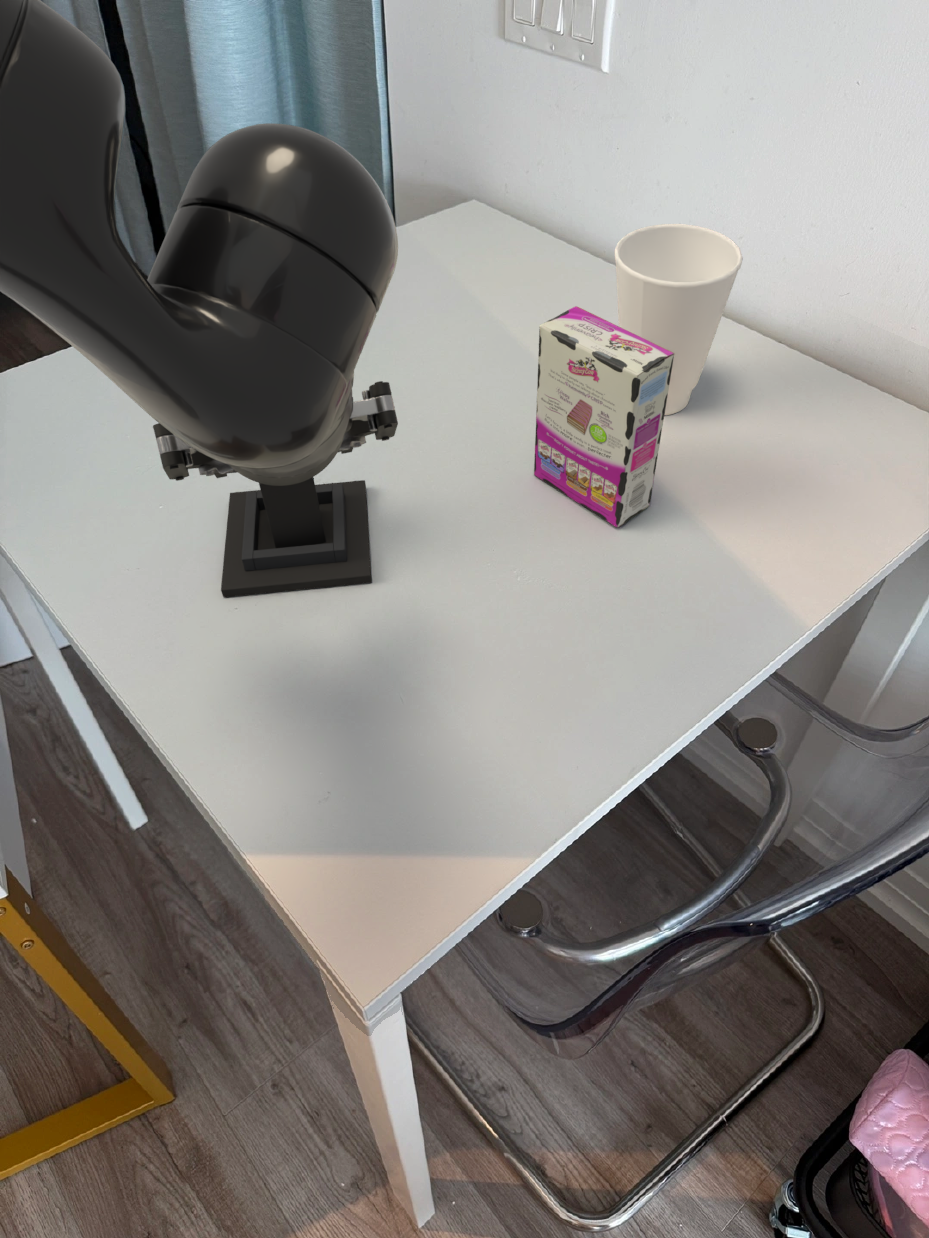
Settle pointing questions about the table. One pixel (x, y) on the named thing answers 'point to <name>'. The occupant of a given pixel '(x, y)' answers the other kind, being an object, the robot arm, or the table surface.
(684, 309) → the cup
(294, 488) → the black block
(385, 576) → the table surface
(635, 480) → the candy bar box
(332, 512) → the base pad
